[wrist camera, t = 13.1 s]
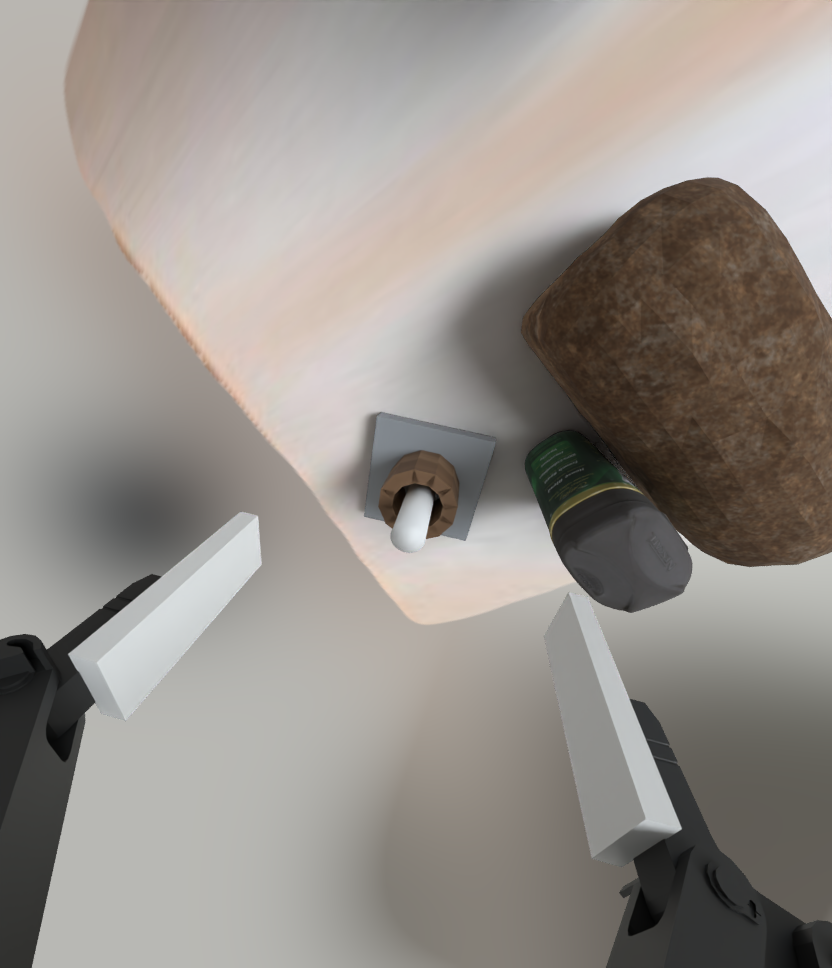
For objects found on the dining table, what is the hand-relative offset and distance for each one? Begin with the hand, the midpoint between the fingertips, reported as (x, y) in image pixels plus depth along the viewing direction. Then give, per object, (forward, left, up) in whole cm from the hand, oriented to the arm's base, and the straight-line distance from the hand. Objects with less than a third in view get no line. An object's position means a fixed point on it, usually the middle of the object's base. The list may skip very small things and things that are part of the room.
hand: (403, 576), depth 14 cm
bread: (-8, +21, -28) cm, 36 cm away
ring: (+8, -1, -26) cm, 27 cm away
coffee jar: (+3, +15, -28) cm, 32 cm away
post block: (+8, -1, -28) cm, 29 cm away
